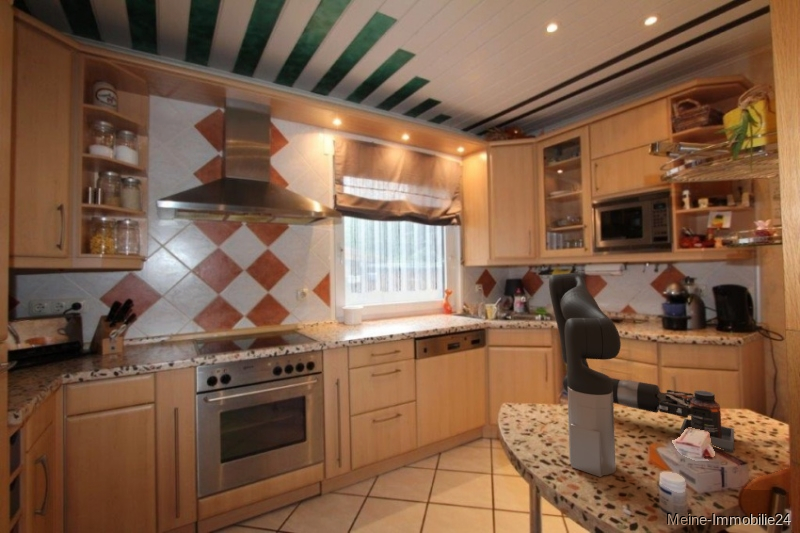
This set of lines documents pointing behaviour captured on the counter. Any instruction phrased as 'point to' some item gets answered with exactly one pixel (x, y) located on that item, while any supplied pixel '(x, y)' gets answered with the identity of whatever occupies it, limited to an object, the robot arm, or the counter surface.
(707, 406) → the supplement bottle
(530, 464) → the counter surface
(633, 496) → the counter surface
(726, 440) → the slate tray
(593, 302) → the robot arm
